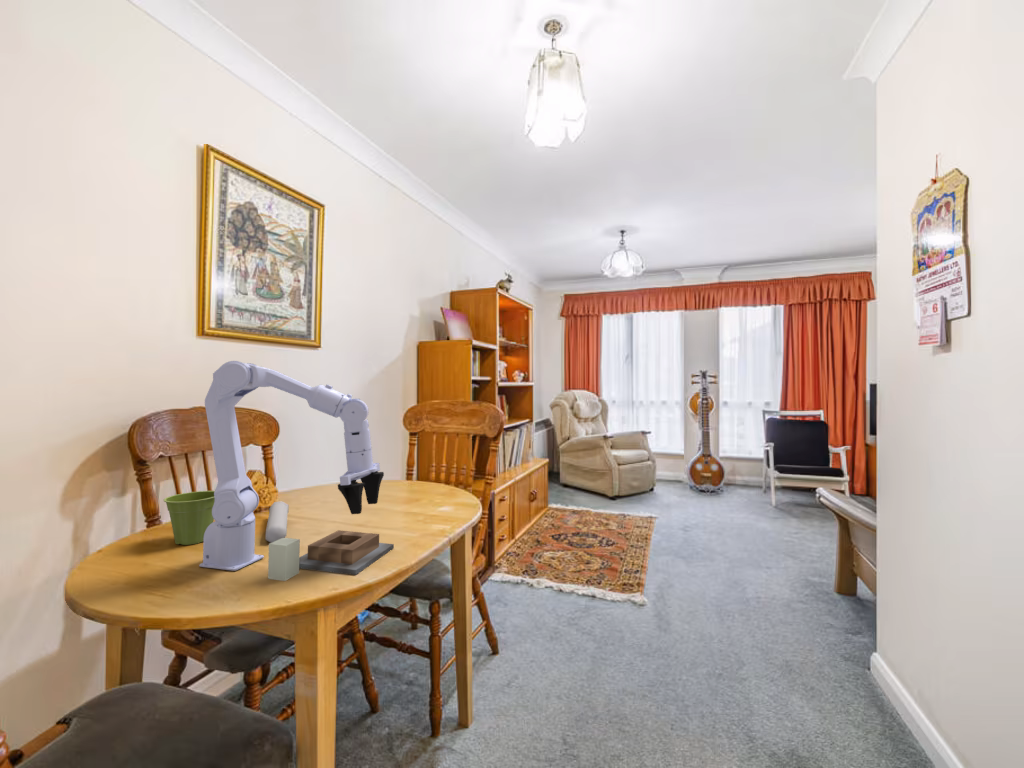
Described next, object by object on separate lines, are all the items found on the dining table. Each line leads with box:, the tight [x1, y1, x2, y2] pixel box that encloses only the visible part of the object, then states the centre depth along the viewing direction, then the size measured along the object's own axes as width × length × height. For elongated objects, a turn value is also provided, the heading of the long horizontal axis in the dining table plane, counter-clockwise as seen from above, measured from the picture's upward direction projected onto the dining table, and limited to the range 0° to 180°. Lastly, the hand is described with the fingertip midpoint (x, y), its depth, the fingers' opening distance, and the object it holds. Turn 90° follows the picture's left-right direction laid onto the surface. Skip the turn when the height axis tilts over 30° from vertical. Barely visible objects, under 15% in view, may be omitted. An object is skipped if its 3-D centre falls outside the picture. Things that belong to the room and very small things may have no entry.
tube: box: [265, 500, 290, 543], centre depth 120 cm, size 5×5×25 cm
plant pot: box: [163, 490, 215, 546], centre depth 110 cm, size 12×12×11 cm
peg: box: [267, 537, 301, 582], centre depth 90 cm, size 4×4×7 cm
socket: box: [299, 529, 395, 576], centre depth 100 cm, size 16×16×4 cm
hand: (364, 508), depth 102 cm, fingers open, 7 cm apart
